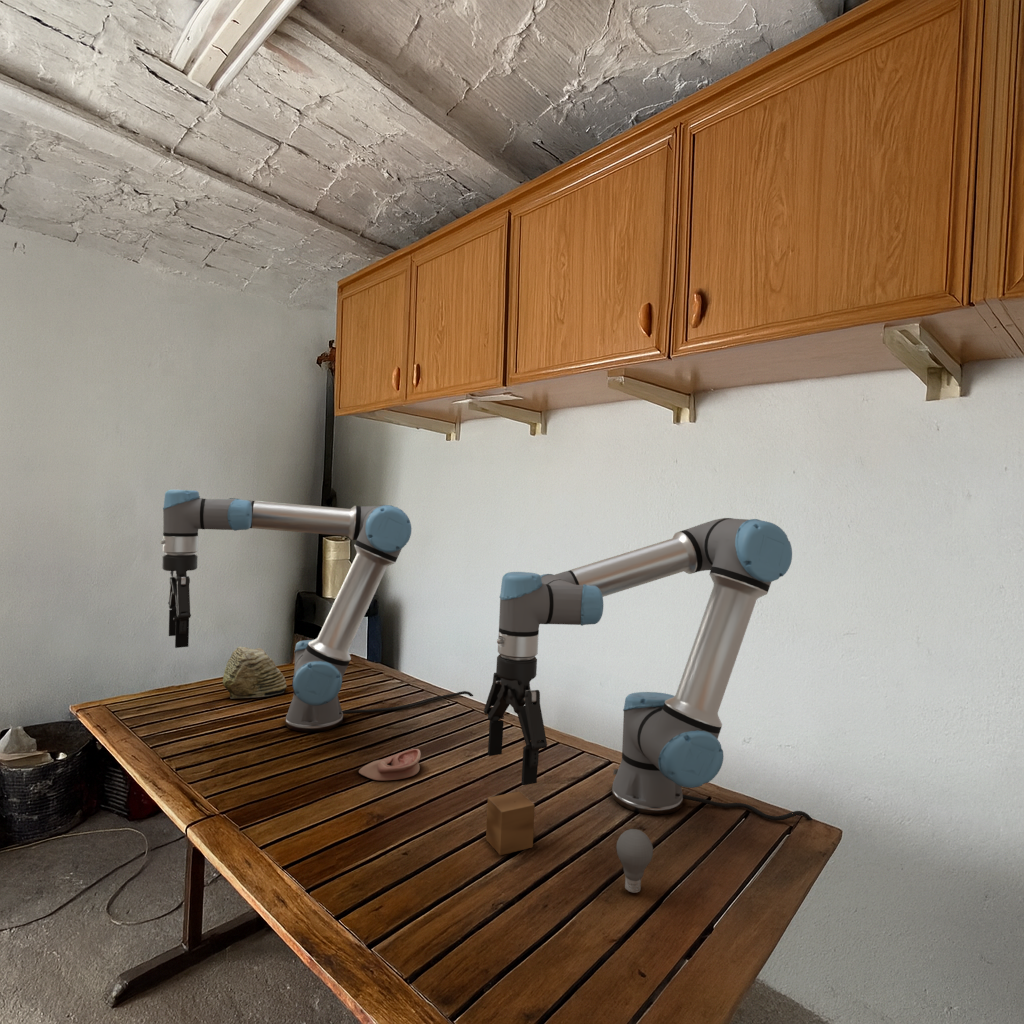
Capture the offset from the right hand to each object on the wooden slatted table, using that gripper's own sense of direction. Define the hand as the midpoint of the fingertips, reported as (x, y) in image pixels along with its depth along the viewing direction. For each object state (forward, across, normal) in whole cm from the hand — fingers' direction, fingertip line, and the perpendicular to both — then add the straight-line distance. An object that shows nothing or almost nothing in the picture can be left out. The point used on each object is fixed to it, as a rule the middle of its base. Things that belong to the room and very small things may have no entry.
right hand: (511, 768), depth 119 cm
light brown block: (+14, 0, 0) cm, 14 cm away
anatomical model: (+14, -38, -11) cm, 42 cm away
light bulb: (+14, +22, +12) cm, 28 cm away
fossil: (+15, -108, -33) cm, 113 cm away
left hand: (-12, -69, -55) cm, 89 cm away
